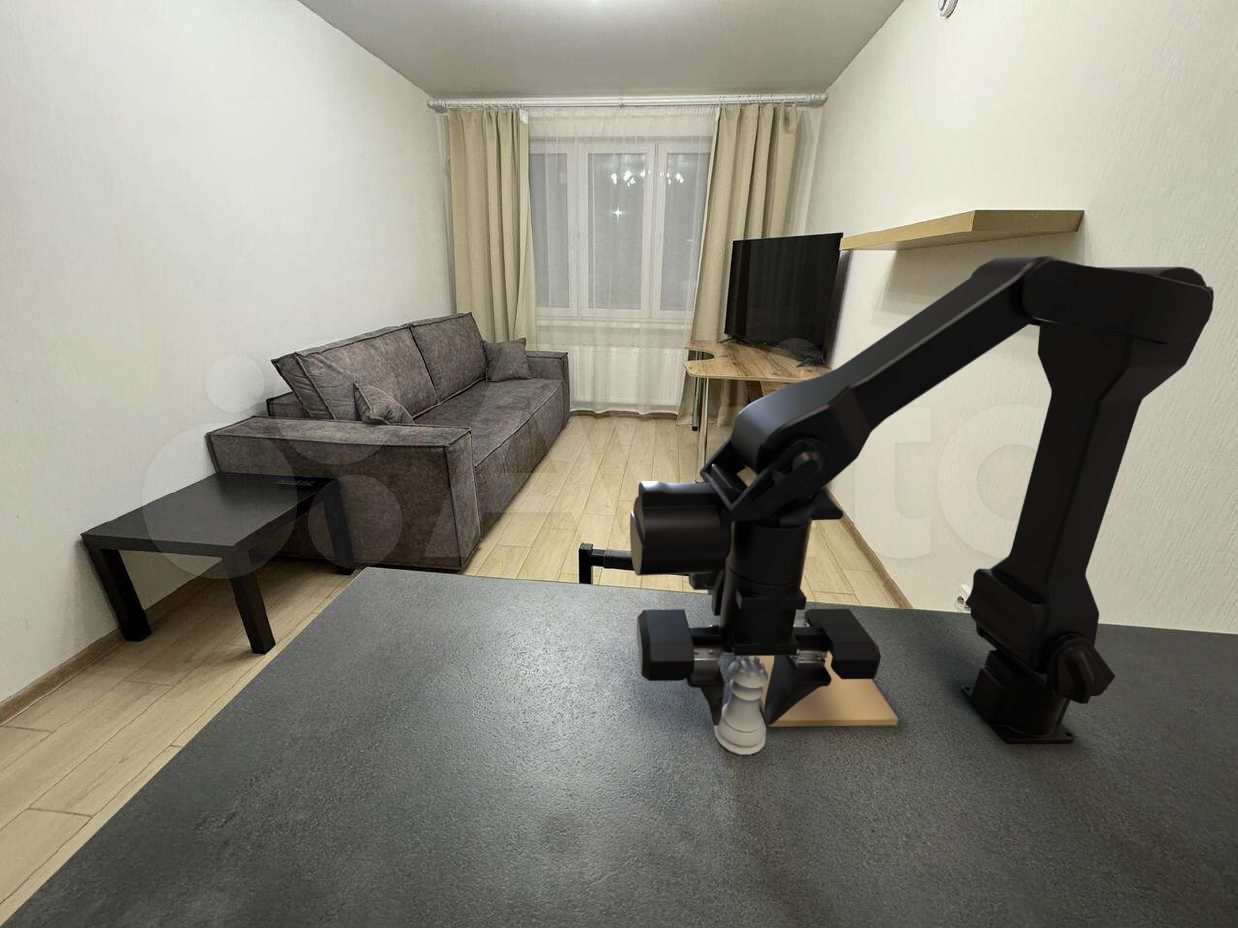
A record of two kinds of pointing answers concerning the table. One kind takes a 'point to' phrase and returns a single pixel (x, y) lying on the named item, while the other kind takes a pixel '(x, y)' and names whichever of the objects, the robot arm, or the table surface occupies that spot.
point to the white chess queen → (743, 708)
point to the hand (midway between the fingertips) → (741, 720)
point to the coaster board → (835, 702)
